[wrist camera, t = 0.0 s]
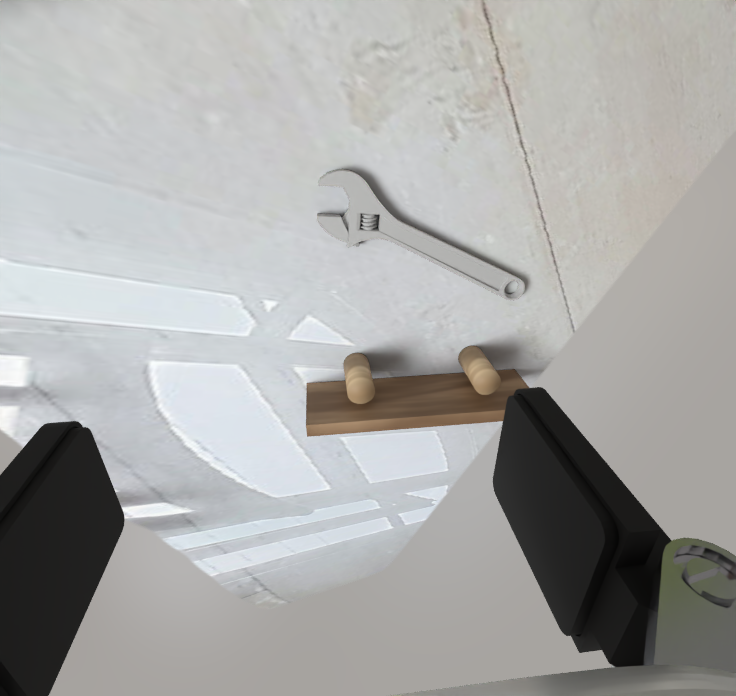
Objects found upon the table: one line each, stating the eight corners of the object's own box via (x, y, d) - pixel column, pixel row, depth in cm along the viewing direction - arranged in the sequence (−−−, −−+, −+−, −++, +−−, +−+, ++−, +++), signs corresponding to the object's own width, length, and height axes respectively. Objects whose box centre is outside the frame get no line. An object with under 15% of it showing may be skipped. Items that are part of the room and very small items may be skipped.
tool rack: (304, 356, 51) (303, 395, 44) (519, 342, 53) (550, 378, 46) (307, 393, 53) (307, 436, 46) (512, 379, 56) (541, 417, 49)
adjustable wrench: (524, 278, 50) (531, 284, 48) (490, 323, 52) (495, 330, 51) (332, 157, 41) (333, 159, 40) (301, 218, 44) (301, 222, 42)
